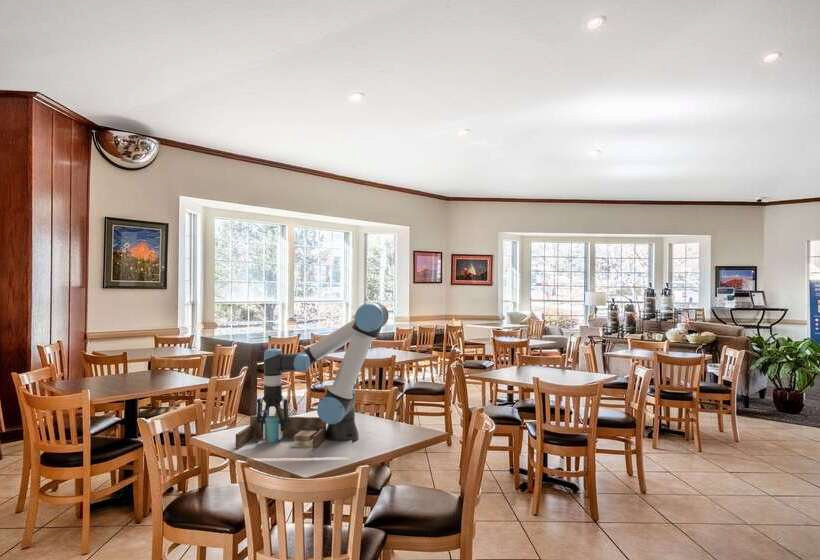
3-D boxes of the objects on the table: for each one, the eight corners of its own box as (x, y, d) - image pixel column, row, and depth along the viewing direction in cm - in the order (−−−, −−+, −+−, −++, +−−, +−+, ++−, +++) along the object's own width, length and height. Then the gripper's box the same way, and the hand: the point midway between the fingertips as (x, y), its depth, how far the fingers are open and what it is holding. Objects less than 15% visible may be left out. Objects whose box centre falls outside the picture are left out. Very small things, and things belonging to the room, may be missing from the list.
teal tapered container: (266, 447, 226) (266, 411, 227) (253, 445, 231) (253, 409, 231) (289, 440, 238) (289, 405, 239) (277, 437, 242) (277, 404, 243)
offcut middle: (316, 439, 239) (316, 434, 239) (312, 445, 228) (312, 441, 228) (298, 439, 239) (298, 434, 239) (293, 446, 228) (293, 441, 228)
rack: (326, 439, 242) (326, 417, 242) (316, 451, 225) (316, 426, 225) (251, 437, 245) (251, 415, 245) (235, 448, 228) (235, 424, 228)
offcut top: (317, 435, 238) (317, 430, 238) (310, 441, 228) (310, 436, 228) (301, 434, 239) (301, 430, 239) (294, 440, 229) (294, 435, 229)
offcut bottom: (318, 443, 239) (318, 438, 240) (311, 451, 226) (311, 446, 227) (298, 442, 240) (298, 438, 240) (290, 451, 227) (290, 446, 227)
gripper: (296, 383, 238) (296, 436, 237) (254, 383, 240) (254, 435, 239) (291, 386, 231) (291, 441, 230) (248, 386, 232) (248, 440, 232)
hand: (272, 438), depth 234 cm, fingers closed on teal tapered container, 6 cm apart
